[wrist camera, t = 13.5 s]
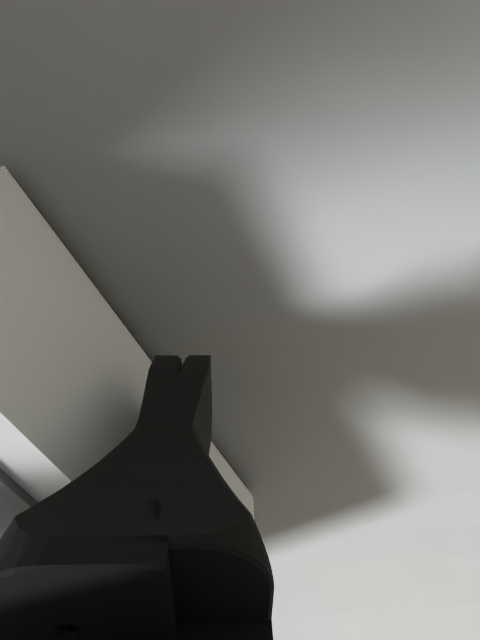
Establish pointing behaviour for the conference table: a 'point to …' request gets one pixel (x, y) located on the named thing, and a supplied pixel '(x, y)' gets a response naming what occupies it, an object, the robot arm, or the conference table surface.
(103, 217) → the conference table surface
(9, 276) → the tray
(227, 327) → the conference table surface
